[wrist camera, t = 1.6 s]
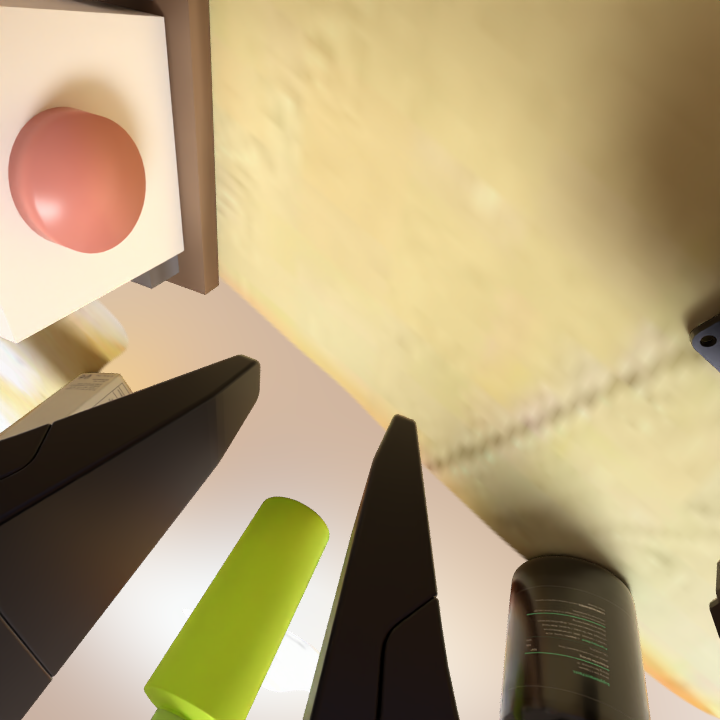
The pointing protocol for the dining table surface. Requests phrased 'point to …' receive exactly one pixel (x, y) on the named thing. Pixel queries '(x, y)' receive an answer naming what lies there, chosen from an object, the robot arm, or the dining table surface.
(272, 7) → the dining table surface
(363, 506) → the robot arm
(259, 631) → the soap dispenser
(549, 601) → the supplement bottle
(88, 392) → the skincare box
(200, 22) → the press base
